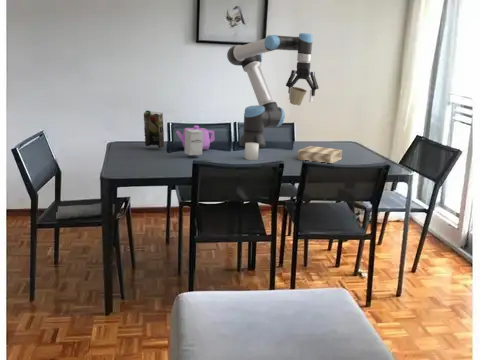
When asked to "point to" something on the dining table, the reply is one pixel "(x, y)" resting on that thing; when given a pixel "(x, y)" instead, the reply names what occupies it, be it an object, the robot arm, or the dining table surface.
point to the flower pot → (297, 95)
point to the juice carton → (153, 128)
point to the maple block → (319, 154)
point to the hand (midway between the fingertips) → (300, 100)
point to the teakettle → (205, 136)
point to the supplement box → (193, 142)
